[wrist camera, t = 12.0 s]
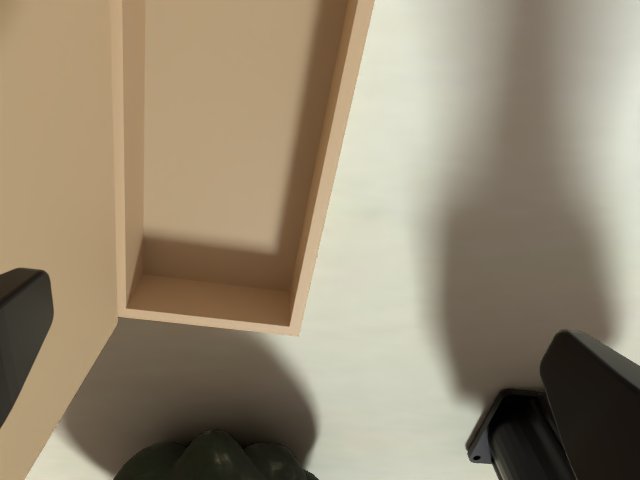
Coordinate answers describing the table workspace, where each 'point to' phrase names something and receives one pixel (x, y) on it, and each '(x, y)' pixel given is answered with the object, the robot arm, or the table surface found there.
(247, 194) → the cardboard box
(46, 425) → the lid
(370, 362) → the table surface
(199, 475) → the squash
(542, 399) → the robot arm
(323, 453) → the table surface
